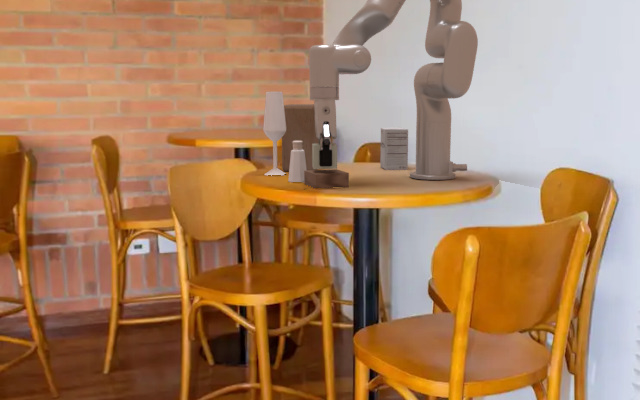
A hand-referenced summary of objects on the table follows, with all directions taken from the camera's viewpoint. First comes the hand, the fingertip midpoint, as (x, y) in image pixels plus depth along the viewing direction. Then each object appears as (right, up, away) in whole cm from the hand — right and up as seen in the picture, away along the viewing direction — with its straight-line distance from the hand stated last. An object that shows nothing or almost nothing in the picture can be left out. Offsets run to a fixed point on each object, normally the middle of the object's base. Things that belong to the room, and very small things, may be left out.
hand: (324, 164), depth 184 cm
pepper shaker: (-7, -4, +9) cm, 13 cm away
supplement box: (+22, 0, +38) cm, 44 cm away
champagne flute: (-14, -2, +25) cm, 29 cm away
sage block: (0, -1, 0) cm, 1 cm away
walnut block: (0, -6, +1) cm, 6 cm away
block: (-7, 0, +35) cm, 36 cm away
